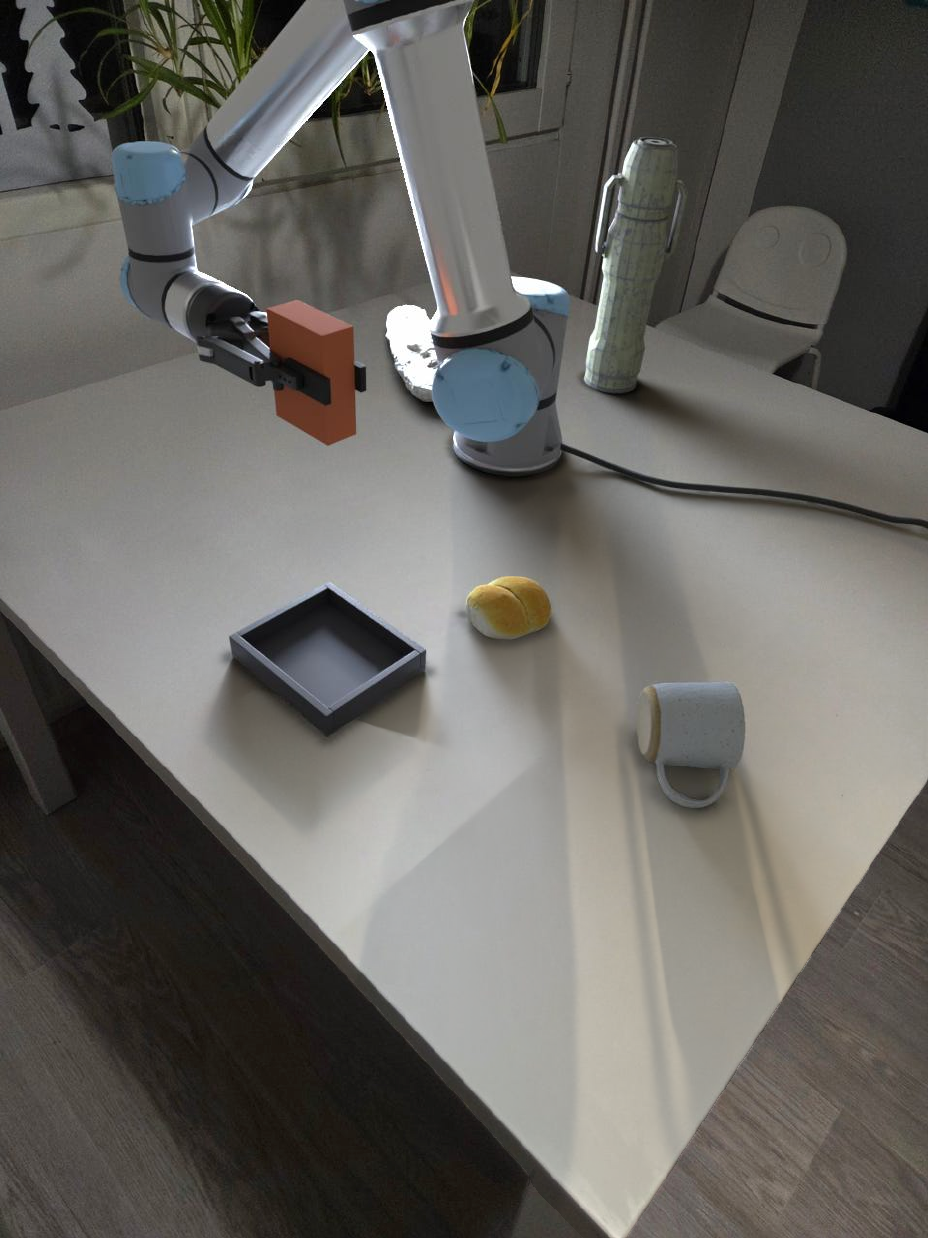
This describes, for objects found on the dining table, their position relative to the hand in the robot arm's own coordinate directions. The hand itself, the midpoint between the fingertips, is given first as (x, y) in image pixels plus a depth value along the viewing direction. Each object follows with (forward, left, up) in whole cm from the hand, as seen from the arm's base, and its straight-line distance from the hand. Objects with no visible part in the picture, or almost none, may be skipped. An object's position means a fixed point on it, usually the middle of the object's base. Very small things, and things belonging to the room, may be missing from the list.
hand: (345, 385), depth 84 cm
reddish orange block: (+3, -4, -7) cm, 9 cm away
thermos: (-43, -44, -20) cm, 65 cm away
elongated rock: (-12, -52, -20) cm, 57 cm away
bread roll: (-16, +14, -20) cm, 30 cm away
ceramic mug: (-29, +35, -20) cm, 50 cm away
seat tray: (+3, +20, -20) cm, 28 cm away
